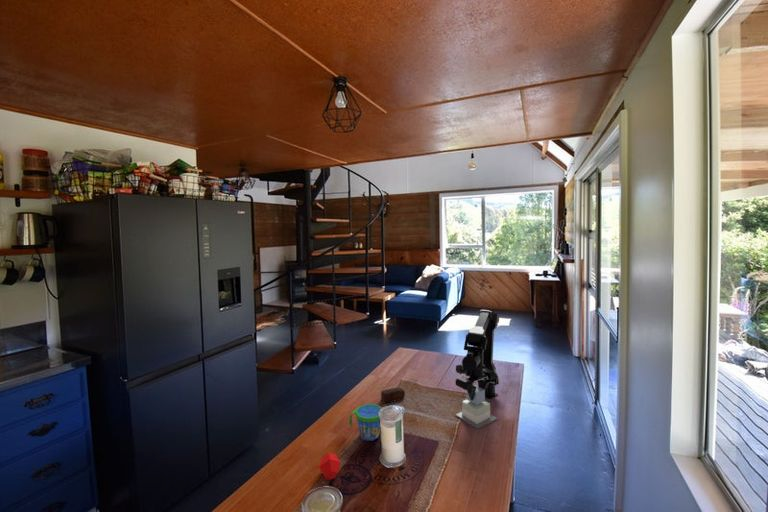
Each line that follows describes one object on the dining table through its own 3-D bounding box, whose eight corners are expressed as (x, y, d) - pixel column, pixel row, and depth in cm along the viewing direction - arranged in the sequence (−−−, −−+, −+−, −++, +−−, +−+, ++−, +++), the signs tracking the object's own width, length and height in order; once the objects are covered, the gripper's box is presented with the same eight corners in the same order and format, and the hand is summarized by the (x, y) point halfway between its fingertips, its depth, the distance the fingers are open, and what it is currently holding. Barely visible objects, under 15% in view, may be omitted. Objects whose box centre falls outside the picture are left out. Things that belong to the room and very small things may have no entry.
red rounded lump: (340, 467, 102) (336, 444, 109) (319, 474, 101) (316, 450, 108) (344, 479, 105) (340, 456, 112) (323, 487, 104) (320, 463, 111)
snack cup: (393, 431, 129) (392, 406, 128) (385, 448, 119) (384, 421, 118) (356, 425, 134) (355, 401, 133) (345, 440, 124) (344, 414, 123)
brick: (384, 404, 150) (384, 394, 150) (381, 400, 154) (380, 390, 153) (405, 398, 155) (404, 389, 154) (401, 395, 158) (400, 385, 158)
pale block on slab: (474, 407, 146) (474, 392, 145) (497, 419, 136) (497, 404, 135) (455, 415, 139) (455, 400, 139) (477, 429, 129) (477, 413, 129)
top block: (475, 396, 140) (475, 385, 140) (484, 401, 136) (484, 389, 136) (467, 399, 138) (467, 388, 137) (476, 405, 134) (476, 393, 133)
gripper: (476, 351, 148) (476, 384, 149) (445, 361, 137) (446, 396, 139) (496, 359, 138) (496, 394, 139) (465, 369, 128) (466, 408, 129)
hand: (476, 398), depth 137 cm, fingers closed on top block, 5 cm apart
